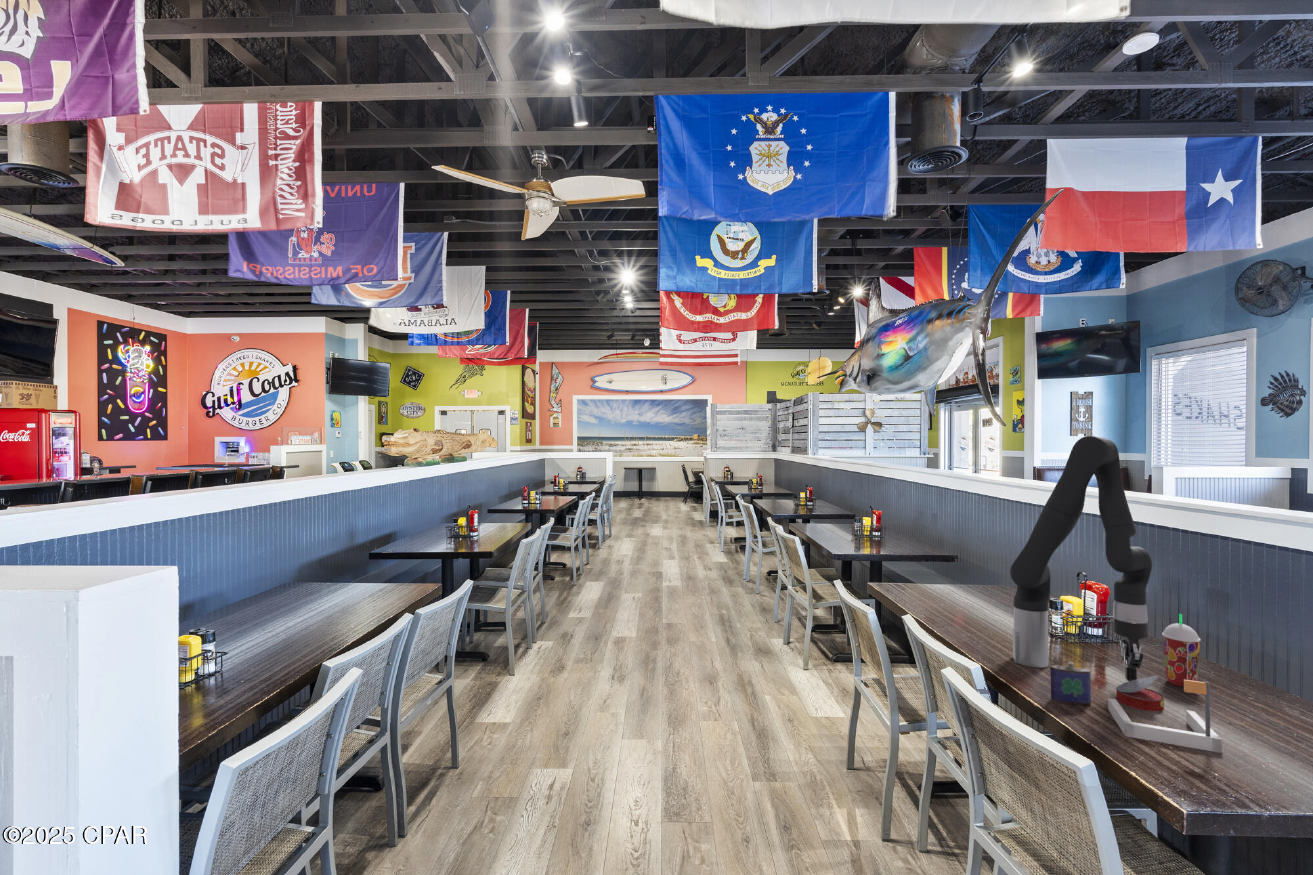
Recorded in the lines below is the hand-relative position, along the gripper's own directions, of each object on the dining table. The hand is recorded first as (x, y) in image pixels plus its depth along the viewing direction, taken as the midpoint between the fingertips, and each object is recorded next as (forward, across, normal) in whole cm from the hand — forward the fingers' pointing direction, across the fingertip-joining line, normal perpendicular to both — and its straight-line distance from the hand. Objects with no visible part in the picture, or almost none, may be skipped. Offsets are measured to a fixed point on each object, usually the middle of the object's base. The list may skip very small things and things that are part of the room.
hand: (1131, 680), depth 164 cm
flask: (+3, +16, -17) cm, 23 cm away
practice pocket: (+3, +24, 0) cm, 25 cm away
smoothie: (+3, -13, +15) cm, 20 cm away
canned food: (+4, +8, 0) cm, 9 cm away
